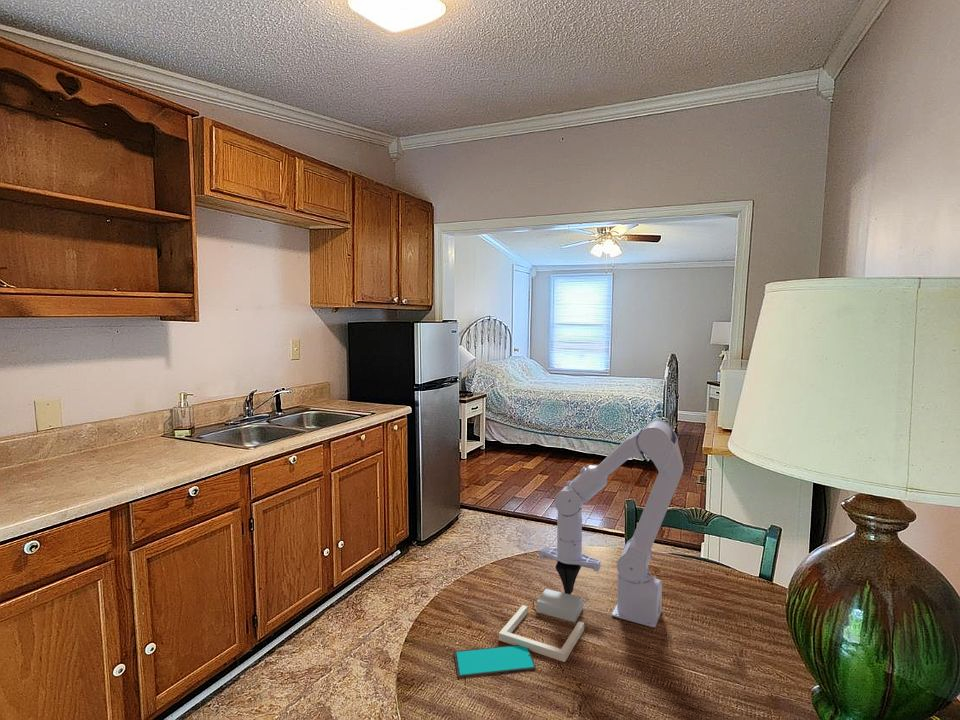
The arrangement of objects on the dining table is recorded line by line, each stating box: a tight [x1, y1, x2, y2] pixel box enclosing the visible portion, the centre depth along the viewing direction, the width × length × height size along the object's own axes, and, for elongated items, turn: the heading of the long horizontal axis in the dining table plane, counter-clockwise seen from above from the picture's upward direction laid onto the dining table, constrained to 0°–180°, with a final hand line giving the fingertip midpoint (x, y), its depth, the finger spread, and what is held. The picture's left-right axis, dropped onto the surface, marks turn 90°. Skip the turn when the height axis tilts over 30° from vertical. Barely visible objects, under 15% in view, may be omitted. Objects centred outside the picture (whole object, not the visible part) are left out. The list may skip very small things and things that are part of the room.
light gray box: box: [536, 588, 584, 623], centre depth 121 cm, size 9×6×3 cm, turn 63°
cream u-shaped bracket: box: [498, 604, 585, 663], centre depth 112 cm, size 14×12×2 cm
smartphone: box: [453, 645, 536, 679], centre depth 103 cm, size 7×1×15 cm
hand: (568, 592), depth 126 cm, fingers closed
